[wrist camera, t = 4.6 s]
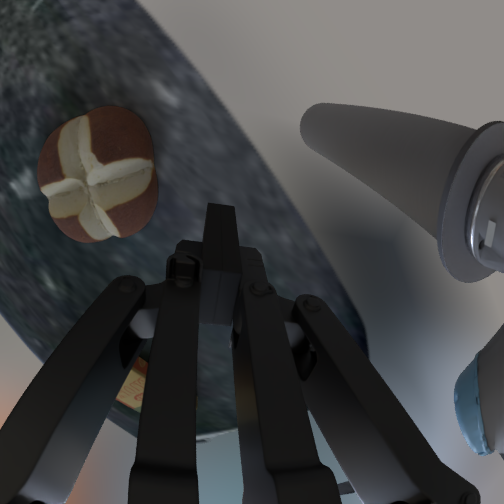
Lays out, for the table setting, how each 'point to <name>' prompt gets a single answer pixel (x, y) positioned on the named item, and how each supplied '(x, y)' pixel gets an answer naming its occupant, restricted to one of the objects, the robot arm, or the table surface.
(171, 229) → the table surface
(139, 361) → the carton
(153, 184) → the bread
